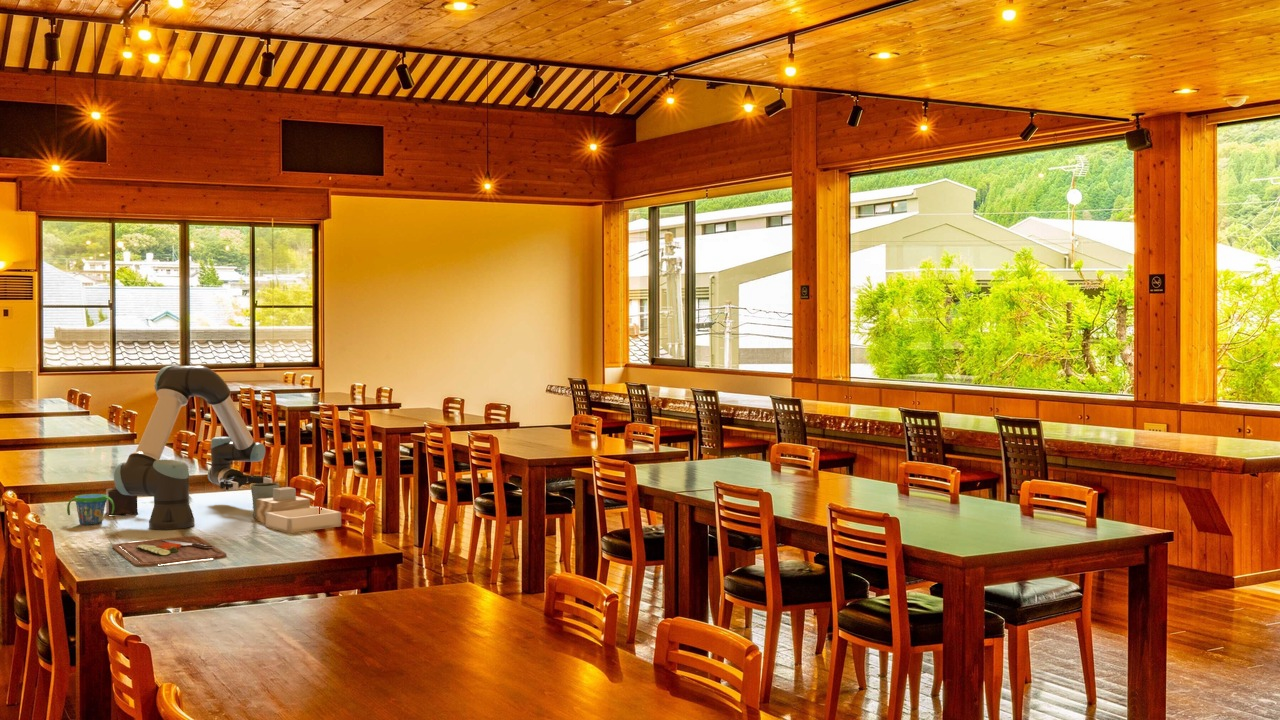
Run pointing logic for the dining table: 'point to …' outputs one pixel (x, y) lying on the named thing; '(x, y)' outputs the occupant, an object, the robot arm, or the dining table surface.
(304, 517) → the box
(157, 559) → the chopping board
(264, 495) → the grey green tapered cup
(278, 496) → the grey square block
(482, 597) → the dining table surface
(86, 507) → the snack cup
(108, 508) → the manual coffee grinder
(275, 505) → the block
